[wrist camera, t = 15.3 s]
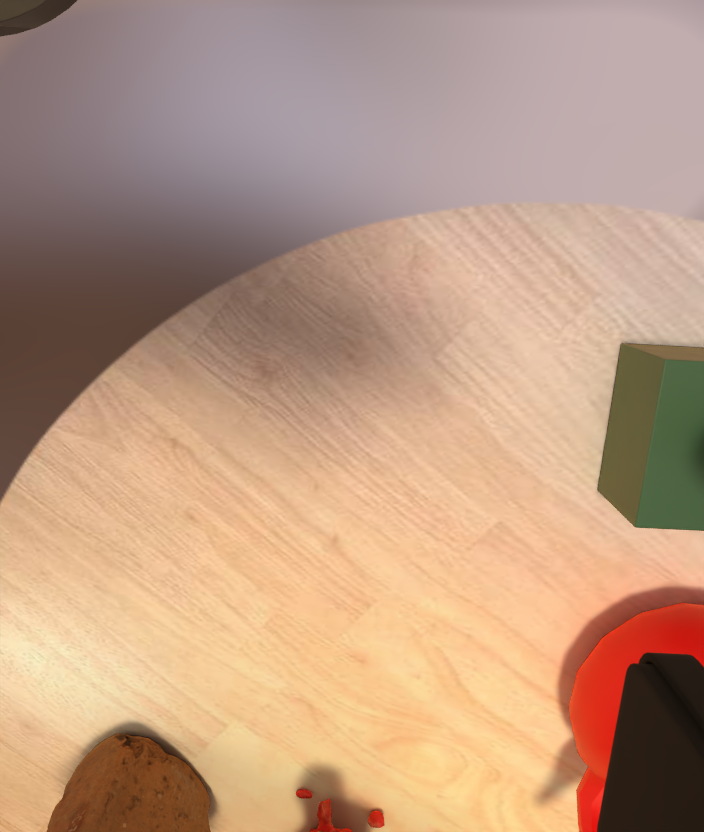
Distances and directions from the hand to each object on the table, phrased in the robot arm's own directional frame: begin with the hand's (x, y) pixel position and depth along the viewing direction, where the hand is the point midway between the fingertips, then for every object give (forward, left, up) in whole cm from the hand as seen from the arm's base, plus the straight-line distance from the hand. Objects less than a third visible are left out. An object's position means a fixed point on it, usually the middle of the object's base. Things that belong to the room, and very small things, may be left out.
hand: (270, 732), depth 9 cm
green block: (+4, +23, -34) cm, 41 cm away
